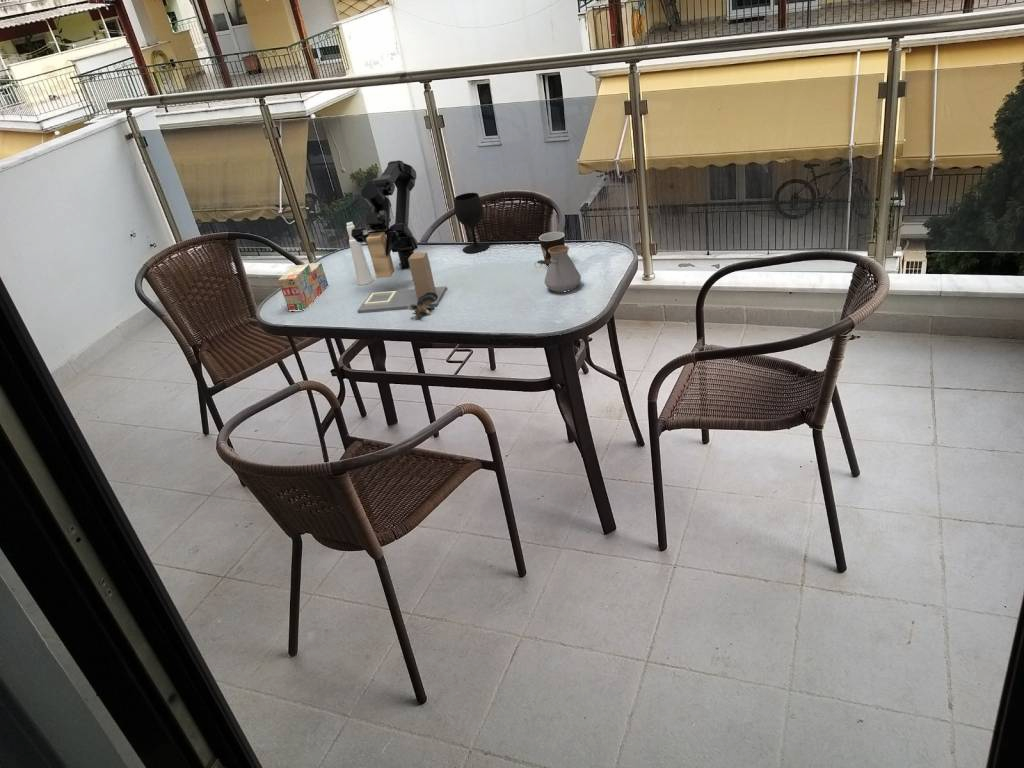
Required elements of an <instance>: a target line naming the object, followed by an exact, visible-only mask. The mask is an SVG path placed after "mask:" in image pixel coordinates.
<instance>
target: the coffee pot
mask: <svg viewBox="0 0 1024 768" xmlns="http://www.w3.org/2000/svg"><path fill="white" fill-rule="evenodd" d="M569 250H570V247H569V246H568V245H565V246H563V245H562V246H555V247H552V248H549V249H548V252H549V253H550V255H551V259H550V261H549V260H544V259H540V260H537V261H536V262H535V264H540V266H539V267H537V266H536V265H534V268H536V269H539V268H541V267H542V265H546V264H549V266H548V267H547V271H546V273H545V277H544V284H545V286H546V287H547V288H548V289H550V290H551V291H552V290H553V291H552V292H554V291H556V292H555V293H558V292H562V293H565V292H564V291H568V290H571V289H573V290H574V289H576V287H577V286H578V285H579V284H580V282H581V279H582V277H581V276H582V275H581V274H580V272H579V271H578V268H577V267H576V266H575V264H574V263H573V261H572V260H571V257H570V256H569V255H568V253H569ZM571 291H572V290H571ZM568 292H569V291H568Z"/></svg>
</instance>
